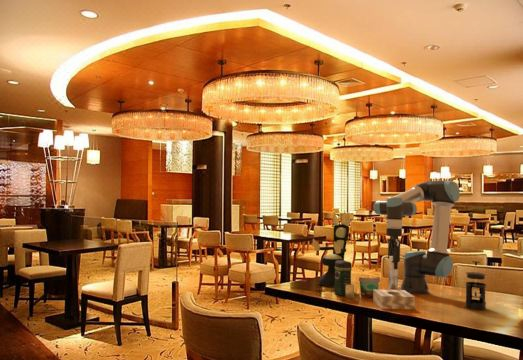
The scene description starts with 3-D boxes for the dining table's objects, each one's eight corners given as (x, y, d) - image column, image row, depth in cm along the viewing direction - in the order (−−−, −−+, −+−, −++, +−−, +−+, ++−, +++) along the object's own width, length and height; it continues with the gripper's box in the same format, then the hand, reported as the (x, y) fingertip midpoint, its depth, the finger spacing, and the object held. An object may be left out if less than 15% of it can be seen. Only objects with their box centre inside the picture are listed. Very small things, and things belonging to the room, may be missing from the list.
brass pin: (352, 297, 243) (353, 284, 244) (354, 299, 239) (354, 285, 239) (344, 297, 243) (344, 283, 244) (346, 298, 239) (346, 285, 239)
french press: (473, 304, 233) (474, 259, 234) (491, 308, 225) (491, 261, 225) (459, 307, 227) (459, 260, 227) (476, 311, 219) (476, 263, 219)
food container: (363, 297, 243) (364, 278, 243) (358, 295, 249) (358, 276, 249) (384, 297, 246) (384, 278, 246) (378, 294, 252) (378, 276, 252)
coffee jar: (353, 295, 247) (354, 261, 248) (340, 296, 244) (341, 261, 245) (344, 292, 256) (344, 259, 257) (331, 292, 253) (332, 259, 254)
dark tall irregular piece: (310, 284, 278) (311, 210, 279) (333, 280, 293) (334, 210, 294) (334, 289, 264) (336, 211, 265) (357, 285, 279) (359, 211, 280)
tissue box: (404, 301, 235) (404, 290, 236) (414, 309, 219) (414, 296, 220) (373, 301, 235) (373, 289, 236) (381, 308, 219) (381, 296, 220)
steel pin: (396, 287, 230) (396, 255, 230) (398, 289, 225) (399, 257, 226) (387, 287, 230) (388, 255, 230) (390, 289, 225) (390, 256, 226)
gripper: (382, 226, 237) (381, 271, 237) (391, 228, 220) (391, 277, 219) (396, 227, 238) (395, 272, 237) (407, 229, 220) (406, 278, 219)
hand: (393, 274), depth 228 cm, fingers closed on steel pin, 4 cm apart
